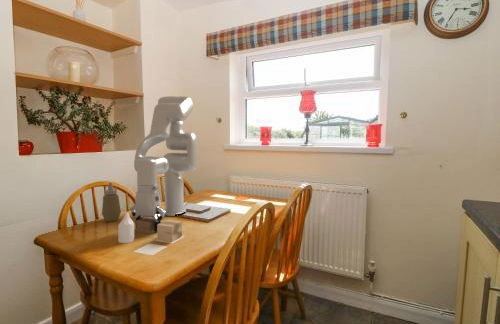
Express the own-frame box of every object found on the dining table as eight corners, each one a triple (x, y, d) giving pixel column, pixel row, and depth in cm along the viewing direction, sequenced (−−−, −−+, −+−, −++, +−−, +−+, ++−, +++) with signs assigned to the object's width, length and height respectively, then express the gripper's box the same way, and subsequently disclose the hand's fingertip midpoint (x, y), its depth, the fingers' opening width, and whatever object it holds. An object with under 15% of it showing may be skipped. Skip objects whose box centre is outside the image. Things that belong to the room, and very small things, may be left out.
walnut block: (147, 230, 121) (146, 216, 120) (159, 231, 119) (159, 218, 118) (136, 234, 115) (136, 220, 114) (149, 237, 113) (149, 222, 112)
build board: (163, 234, 115) (163, 231, 115) (193, 239, 111) (193, 235, 110) (123, 255, 95) (122, 252, 95) (157, 262, 90) (157, 258, 90)
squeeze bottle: (102, 218, 136) (101, 182, 134) (121, 217, 139) (120, 181, 137) (101, 223, 128) (99, 184, 127) (120, 221, 131) (119, 183, 130)
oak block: (168, 234, 112) (167, 219, 111) (182, 236, 110) (181, 221, 109) (157, 240, 106) (157, 224, 105) (172, 242, 103) (171, 226, 103)
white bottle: (116, 211, 105) (132, 209, 108) (117, 242, 106) (133, 239, 109) (118, 215, 100) (135, 213, 103) (119, 247, 101) (136, 244, 104)
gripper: (170, 188, 115) (171, 229, 117) (136, 185, 121) (137, 224, 123) (158, 191, 108) (159, 234, 110) (123, 188, 114) (124, 229, 116)
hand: (148, 229), depth 116 cm, fingers open, 9 cm apart
